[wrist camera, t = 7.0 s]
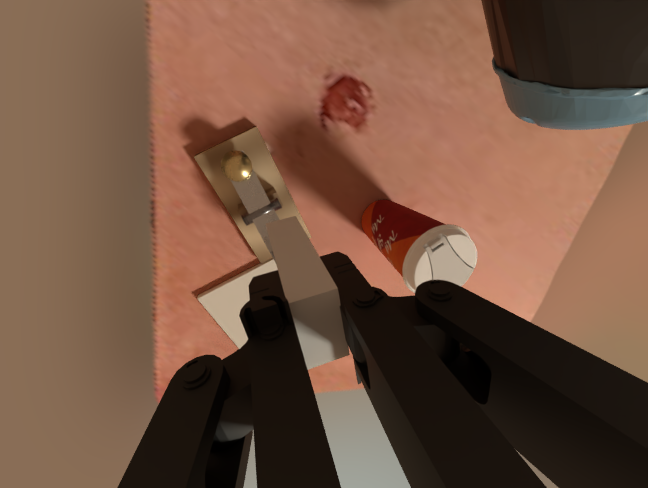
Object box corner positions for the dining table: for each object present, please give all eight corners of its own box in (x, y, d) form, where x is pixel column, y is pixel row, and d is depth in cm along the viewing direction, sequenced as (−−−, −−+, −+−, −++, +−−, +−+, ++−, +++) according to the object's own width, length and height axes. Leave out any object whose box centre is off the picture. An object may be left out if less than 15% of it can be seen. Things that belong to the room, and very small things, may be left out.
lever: (214, 164, 29) (209, 161, 27) (250, 147, 29) (248, 142, 27) (272, 271, 30) (271, 274, 29) (306, 253, 31) (307, 256, 29)
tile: (198, 295, 36) (197, 298, 36) (276, 254, 37) (277, 257, 36) (242, 349, 41) (242, 353, 41) (310, 312, 42) (311, 316, 42)
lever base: (195, 155, 30) (190, 160, 26) (256, 126, 30) (258, 127, 27) (260, 259, 37) (263, 273, 33) (309, 233, 37) (316, 245, 34)
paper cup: (343, 213, 37) (397, 262, 25) (393, 179, 37) (471, 213, 25) (369, 255, 41) (426, 317, 29) (413, 225, 41) (490, 273, 29)
